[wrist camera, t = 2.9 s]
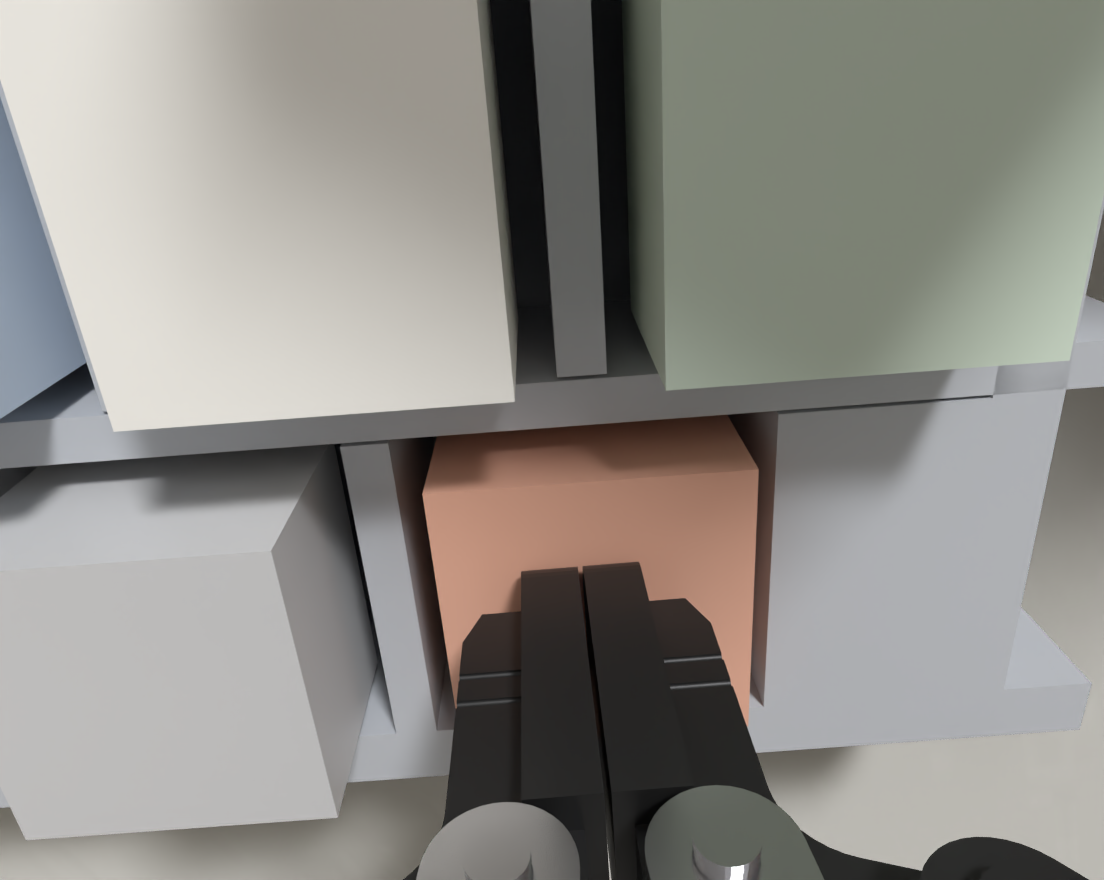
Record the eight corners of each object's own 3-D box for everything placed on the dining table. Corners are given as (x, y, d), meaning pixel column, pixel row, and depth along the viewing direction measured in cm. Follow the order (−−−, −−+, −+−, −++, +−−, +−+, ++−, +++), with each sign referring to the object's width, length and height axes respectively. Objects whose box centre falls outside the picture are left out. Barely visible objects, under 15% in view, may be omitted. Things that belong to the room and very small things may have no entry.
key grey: (333, 436, 11) (270, 551, 9) (377, 661, 13) (337, 818, 10) (50, 457, 11) (-101, 578, 9) (130, 679, 13) (25, 840, 10)
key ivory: (487, -26, 9) (470, -69, 6) (518, 318, 11) (515, 401, 8) (132, 0, 9) (-36, -31, 6) (218, 340, 11) (113, 431, 8)
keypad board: (1074, -241, 11) (1383, -416, 7) (939, 613, 17) (1066, 780, 13) (-405, -125, 11) (-924, -235, 7) (-26, 684, 17) (-194, 870, 13)
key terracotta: (707, 381, 12) (758, 469, 10) (705, 598, 14) (748, 725, 11) (446, 400, 12) (422, 494, 10) (473, 615, 14) (461, 747, 11)
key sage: (976, -65, 9) (1169, -124, 6) (932, 286, 11) (1068, 361, 8) (620, -37, 9) (660, -85, 6) (631, 309, 11) (665, 390, 8)
